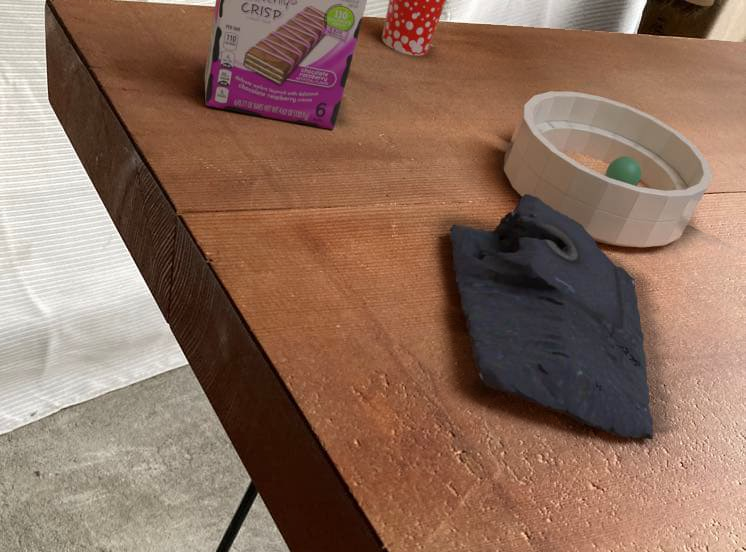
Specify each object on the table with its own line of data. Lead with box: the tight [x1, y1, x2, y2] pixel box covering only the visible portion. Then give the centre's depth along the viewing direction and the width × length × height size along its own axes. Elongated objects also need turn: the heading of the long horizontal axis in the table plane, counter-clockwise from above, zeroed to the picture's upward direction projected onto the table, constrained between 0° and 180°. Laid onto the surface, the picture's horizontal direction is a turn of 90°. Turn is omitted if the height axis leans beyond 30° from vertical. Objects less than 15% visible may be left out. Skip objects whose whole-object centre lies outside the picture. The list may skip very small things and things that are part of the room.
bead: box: [605, 157, 641, 187], centre depth 85 cm, size 3×3×3 cm
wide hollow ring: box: [503, 90, 713, 248], centre depth 84 cm, size 17×17×6 cm
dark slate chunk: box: [449, 194, 654, 440], centre depth 68 cm, size 15×22×5 cm
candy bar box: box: [204, 0, 368, 130], centre depth 77 cm, size 11×5×16 cm, turn 97°
